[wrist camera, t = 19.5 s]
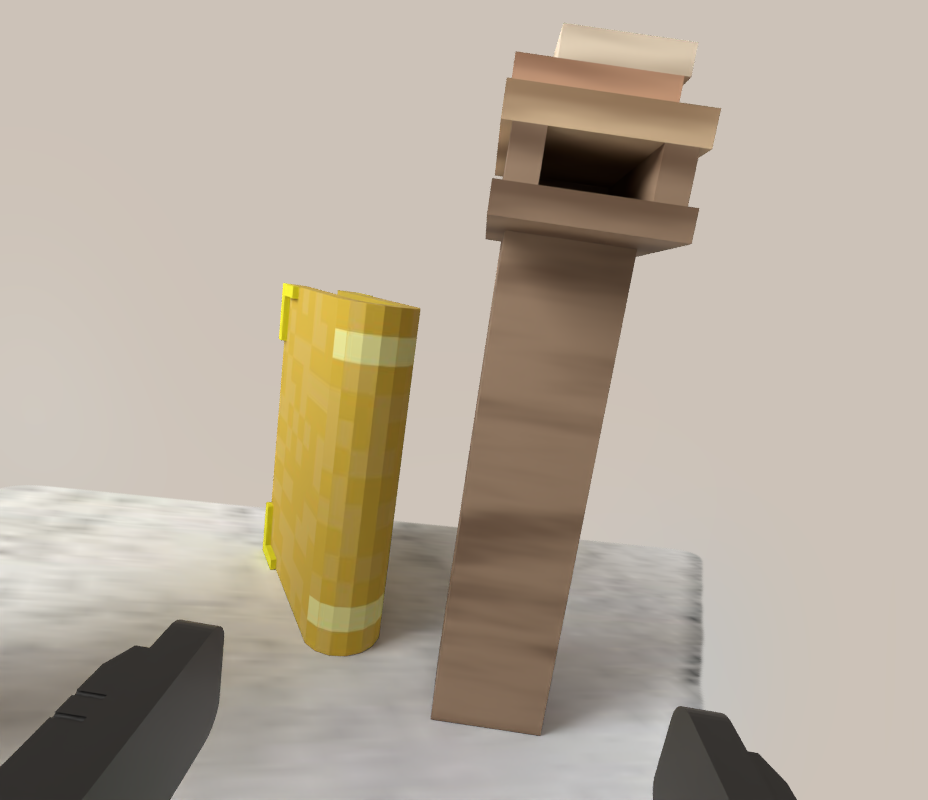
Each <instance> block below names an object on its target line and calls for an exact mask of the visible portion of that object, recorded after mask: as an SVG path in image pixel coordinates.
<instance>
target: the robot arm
mask: <svg viewBox="0 0 928 800" xmlns="http://www.w3.org/2000/svg"><path fill="white" fill-rule="evenodd" d="M223 645H224V631H223V628H222V627H221V626H215V625H209V624H203V623H197V622H191V621H185V620H176V621H175V622H173V623H172V624H171V625H170V626H169V627H168V629H167V630H166V631H165V632H164V633H163V634H162V635H161V636H160V637H159V638H158V640H157V641H156V642H155V643H154V644H153V645H152V646H151V647H150V648H147V647H141V646H134V647H132V648H130V649H129V650H127V651H125V652H123V653H122V654H120V655H118V656H116V657H115V658H113V659H111V660H109V661H108V662H106V663H104V664H102V665H101V666H100V667H99V668H98V669H97V670H96V671H95V672H94V673H93V674H92V675H91V676H90V677H89V678H88V679H87V680H86V681H85V682H84V683H83V684H82V685H81V686H80V687H79V688H78V689H77V692H76V694H75V695H72V696H71V697H70V698H69V699H68V700H67V701H66V702H65V703H64V704H63V705H62V706H61V707H60V708H59V709H58V710H57V711H56V712H55V715H54V717H53V718H51V717H50V718H49V719H48V720H47V721H46V722H45V723H44V724H43V725H42V726H41V727H40V728H39V729H38V730H37V731H36V732H35V733H34V734H33V735H32V736H31V737H30V738H29V739H28V740H27V741H26V742H25V743H24V744H23V745H22V746H21V747H20V748H19V749H18V750H17V751H16V752H15V753H14V754H13V755H12V756H11V757H10V758H9V759H8V760H7V761H6V762H5V763H4V764H3V765H2V766H1V767H0V800H170V799H171V797H172V796H173V794H174V792H175V791H176V789H177V787H178V786H179V784H180V783H181V781H182V779H183V778H184V776H185V774H186V773H187V771H188V769H189V768H190V766H191V764H192V763H193V761H194V759H195V758H196V756H197V754H198V753H199V751H200V750H201V748H202V746H203V745H204V743H205V741H206V739H207V737H208V735H209V733H210V731H211V728H212V726H213V723H214V720H215V717H216V713H217V709H218V704H219V696H220V683H221V671H222V658H223ZM653 800H797V799H796V797H795V796H794V794H793V792H792V791H791V789H790V787H789V786H788V784H787V783H786V782H785V781H784V780H783V779H782V777H781V776H779V774H778V773H777V772H776V771H775V770H774V769H773V768H772V767H771V766H770V765H769V764H768V763H767V762H766V761H765V760H764V759H763V758H762V757H761V756H760V755H759V754H758V753H754V752H748V751H747V750H746V748H745V746H744V745H743V743H742V741H741V739H740V737H739V735H738V734H737V732H736V730H735V728H734V726H733V725H732V723H731V721H730V720H729V718H728V717H727V716H726V715H725V714H722V713H717V712H712V711H706V710H700V709H694V708H688V707H682V706H679V707H677V708H676V709H675V711H674V713H673V715H672V718H671V722H670V725H669V729H668V732H667V735H666V739H665V742H664V746H663V749H662V752H661V756H660V759H659V763H658V766H657V770H656V773H655V777H654V783H653Z"/></svg>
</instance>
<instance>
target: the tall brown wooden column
mask: <svg viewBox="0 0 928 800" xmlns="http://www.w3.org/2000/svg"><path fill="white" fill-rule="evenodd" d="M697 47H698V42H692V41H686V40H678V39H672V38H665V37H658V36H651V35H643V34H637V33H630V32H623V31H616V30H609V29H602V28H595V27H588V26H581V25H574V24H567V23H563V26H562V30H561V33H560V36H559V40H558V43H557V46H556V50H555V53H554V56H553V57H550V56H543V55H537V54H530V53H523V52H516V53H515V61H514V67H513V75H512V78H507V81H506V87H505V94H504V102H503V109H502V115H501V123H500V133H499V143H498V151H497V162H496V170H495V175H496V176H503V179H502V180H501V179H494V178H493V179H492V184H491V191H490V198H489V205H488V211H487V224H486V225H487V226H486V239H488V240H495V241H501V246H500V253H499V259H498V267H497V273H496V280H495V286H494V292H493V299H492V307H491V313H490V319H489V326H488V332H487V339H486V345H485V352H484V359H483V365H482V372H481V379H480V385H479V392H478V398H477V405H476V411H475V418H474V424H473V431H472V438H471V444H470V451H469V458H468V464H467V471H466V477H465V484H464V490H463V497H462V504H461V510H460V517H459V524H458V530H457V537H456V543H455V550H454V557H453V563H452V570H451V576H450V583H449V590H448V596H447V603H446V609H445V616H444V623H443V629H442V636H441V642H440V649H439V656H438V663H437V672H436V680H435V688H434V696H433V705H432V713H431V719H433V720H439V721H446V722H453V723H459V724H466V725H473V726H479V727H486V728H493V729H499V730H506V731H513V732H519V733H526V734H533V735H539V736H540V735H541V730H542V725H543V720H544V715H545V710H546V705H547V700H548V694H549V689H550V684H551V679H552V674H553V669H554V664H555V659H556V654H557V649H558V644H559V639H560V634H561V629H562V624H563V619H564V614H565V609H566V604H567V599H568V594H569V589H570V584H571V579H572V574H573V569H574V564H575V559H576V554H577V549H578V544H579V539H580V534H581V529H582V524H583V519H584V514H585V508H586V503H587V498H588V493H589V489H590V484H591V478H592V473H593V468H594V463H595V458H596V453H597V448H598V443H599V438H600V433H601V428H602V423H603V417H604V413H605V408H606V403H607V398H608V393H609V388H610V383H611V378H612V373H613V368H614V363H615V358H616V352H617V348H618V343H619V337H620V333H621V328H622V323H623V317H624V313H625V308H626V303H627V298H628V292H629V288H630V283H631V277H632V272H633V267H634V262H635V257H637V256H642V255H646V254H650V253H655V252H659V251H663V250H668V249H672V248H677V247H681V246H685V245H689V244H692V239H693V235H694V230H695V226H696V221H697V217H698V212H699V208H693V207H688V203H689V198H690V194H691V189H692V184H693V180H694V175H695V171H696V165H697V161H698V158H699V157H700V156H702V155H704V154H705V153H707V152H708V151H710V150H711V149H712V147H713V143H714V138H715V134H716V129H717V125H718V120H719V116H720V111H721V108H714V107H708V106H700V105H693V104H687V103H680V102H679V101H680V96H681V91H682V86H683V85H684V84H685V83H686V82H687V81H688V80H689V79H690V77H691V76H692V71H693V66H694V61H695V56H696V52H697Z"/></svg>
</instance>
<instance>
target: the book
mask: <svg viewBox="0 0 928 800" xmlns="http://www.w3.org/2000/svg"><path fill="white" fill-rule="evenodd" d="M419 316H420V308H417V307H413V306H409V305H405V304H400V303H396V302H392V301H387V300H383V299H380V298H375V297H373V296H370V295H365V294H361V293H356V292H348V291H340V290H338V294H337V295H336V294H333V293H329V292H325V291H322V290H318V289H314V288H311V287H307V286H301V285H293V284H286V283H284V284H283V293H282V307H281V321H280V334H279V339H280V340H284V353H283V365H282V378H281V391H280V403H279V417H278V428H277V441H276V455H275V467H274V479H273V492H272V502H267V503H266V514H265V527H264V540H263V552H264V554H265V557H266V560H267V562H268V565H269V568H270V570H273V569H276V571H277V573H278V576H279V578H280V581H281V583H282V586H283V588H284V591H285V593H286V596H287V599H288V601H289V604H290V606H291V609H292V611H293V614H294V616H295V619H296V621H297V624H298V626H299V629H300V631H301V634H302V637H303V639H304V642H305V643H306V644H307V645H308V646H310V647H311V648H312V649H313V650H315V651H317V652H320V653H323V654H326V655H332V656H348V655H353V654H357V653H361V652H363V651H365V650H366V649H368V648H370V647H372V646H373V645H374V643H375V642H376V641H377V639H378V638H379V632H380V624H381V616H382V608H383V600H384V592H385V584H386V576H387V569H388V561H389V553H390V545H391V537H392V529H393V521H394V513H395V505H396V497H397V489H398V481H399V474H400V466H401V458H402V450H403V442H404V434H405V425H406V418H407V410H408V402H409V395H410V387H411V379H412V370H413V363H414V355H415V347H416V339H417V331H418V324H419Z"/></svg>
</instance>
